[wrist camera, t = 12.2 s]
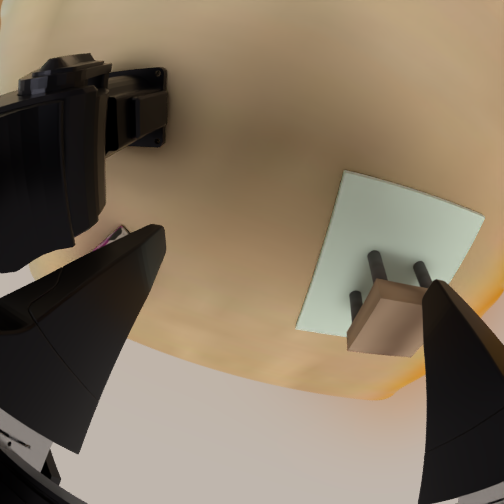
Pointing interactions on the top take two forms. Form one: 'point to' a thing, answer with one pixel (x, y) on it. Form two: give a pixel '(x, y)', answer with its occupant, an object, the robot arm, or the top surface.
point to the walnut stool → (388, 313)
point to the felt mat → (382, 245)
